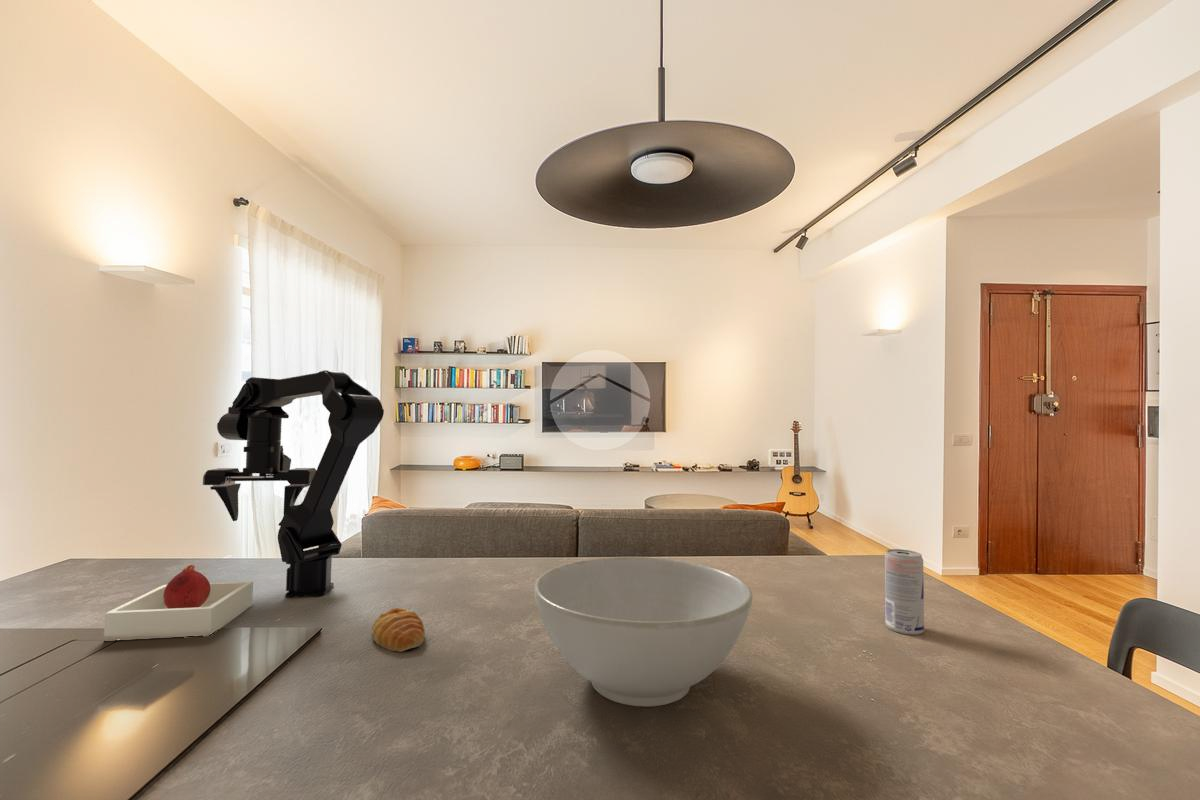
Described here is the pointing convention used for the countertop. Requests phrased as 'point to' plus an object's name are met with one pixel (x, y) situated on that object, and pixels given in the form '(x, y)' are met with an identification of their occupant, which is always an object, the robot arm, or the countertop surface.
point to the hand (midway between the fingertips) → (260, 520)
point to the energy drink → (904, 591)
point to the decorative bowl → (642, 623)
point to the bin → (178, 613)
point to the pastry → (398, 630)
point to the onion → (187, 589)
